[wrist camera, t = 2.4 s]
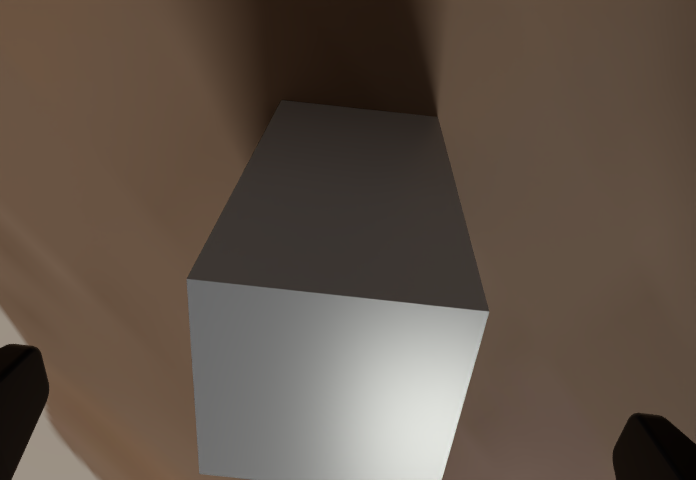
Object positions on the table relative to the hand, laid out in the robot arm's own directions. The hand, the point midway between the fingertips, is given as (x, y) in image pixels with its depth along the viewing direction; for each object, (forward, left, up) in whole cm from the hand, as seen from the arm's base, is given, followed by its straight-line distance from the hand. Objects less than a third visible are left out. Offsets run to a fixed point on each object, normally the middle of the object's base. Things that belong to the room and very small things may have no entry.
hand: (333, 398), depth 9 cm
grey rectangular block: (0, 0, -8) cm, 8 cm away
